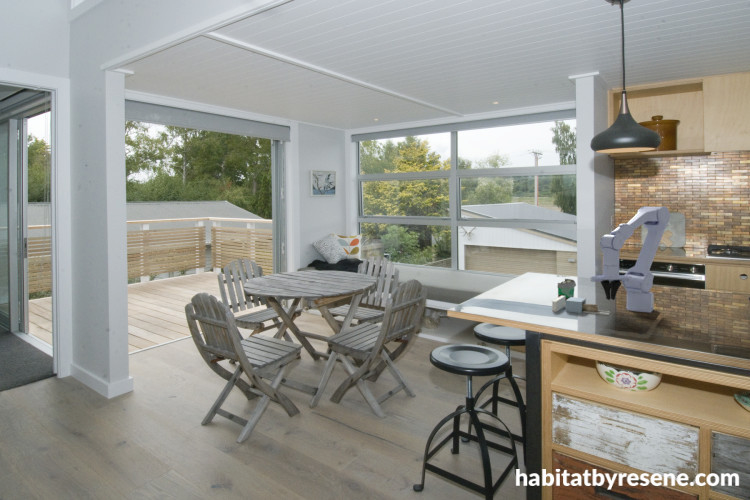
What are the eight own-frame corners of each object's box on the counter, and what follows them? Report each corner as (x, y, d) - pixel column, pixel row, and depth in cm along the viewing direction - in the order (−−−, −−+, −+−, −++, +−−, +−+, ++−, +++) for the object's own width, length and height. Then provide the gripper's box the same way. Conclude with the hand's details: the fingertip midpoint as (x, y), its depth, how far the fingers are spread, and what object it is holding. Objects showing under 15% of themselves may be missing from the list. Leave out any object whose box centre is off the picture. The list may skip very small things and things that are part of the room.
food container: (571, 306, 205) (572, 284, 203) (557, 305, 208) (557, 283, 207) (579, 300, 214) (579, 279, 213) (565, 299, 218) (565, 278, 217)
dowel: (597, 312, 189) (598, 305, 190) (595, 311, 187) (596, 304, 187) (576, 310, 194) (577, 303, 195) (574, 309, 192) (575, 302, 192)
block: (585, 312, 194) (586, 298, 193) (581, 316, 189) (581, 301, 188) (570, 310, 198) (570, 297, 197) (565, 314, 192) (565, 300, 192)
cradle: (610, 315, 187) (610, 311, 187) (607, 318, 183) (607, 314, 183) (586, 313, 193) (586, 308, 193) (583, 315, 189) (583, 311, 189)
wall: (565, 308, 202) (565, 295, 201) (556, 314, 192) (556, 301, 192) (561, 308, 203) (561, 295, 202) (552, 314, 193) (552, 301, 193)
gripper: (626, 263, 186) (625, 296, 187) (588, 264, 188) (587, 297, 189) (634, 265, 179) (633, 300, 180) (594, 266, 181) (593, 301, 182)
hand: (610, 299), depth 184 cm, fingers closed
